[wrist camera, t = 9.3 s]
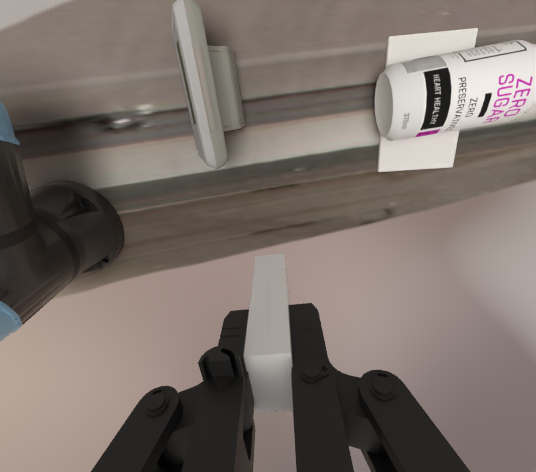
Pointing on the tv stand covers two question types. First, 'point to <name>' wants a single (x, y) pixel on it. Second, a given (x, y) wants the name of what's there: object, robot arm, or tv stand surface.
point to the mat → (429, 146)
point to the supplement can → (456, 90)
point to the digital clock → (206, 83)
